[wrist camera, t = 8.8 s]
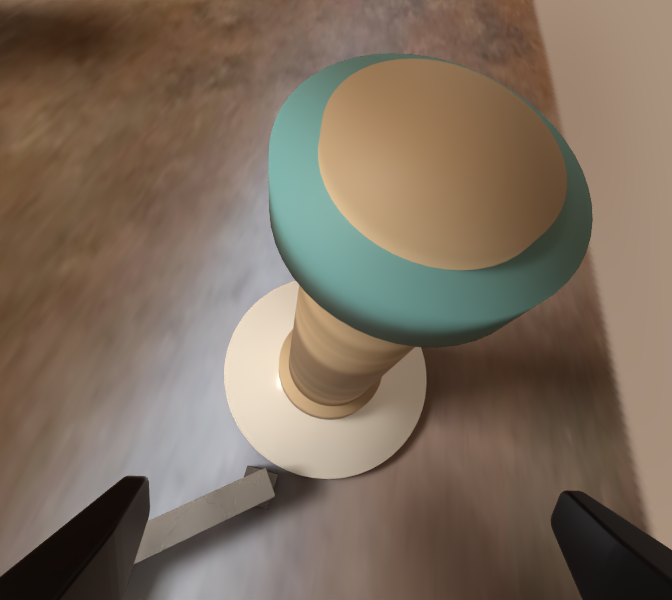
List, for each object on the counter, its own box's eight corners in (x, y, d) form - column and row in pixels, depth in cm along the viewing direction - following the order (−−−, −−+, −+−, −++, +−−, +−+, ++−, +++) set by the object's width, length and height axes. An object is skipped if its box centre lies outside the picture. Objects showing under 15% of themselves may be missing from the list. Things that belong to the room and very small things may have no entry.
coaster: (402, 505, 16) (407, 506, 15) (191, 443, 16) (189, 442, 15) (435, 312, 20) (439, 308, 19) (265, 260, 20) (265, 254, 19)
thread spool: (335, 453, 16) (513, 397, 4) (246, 372, 17) (185, 131, 5) (405, 364, 18) (659, 155, 6) (323, 295, 19) (408, -7, 7)
